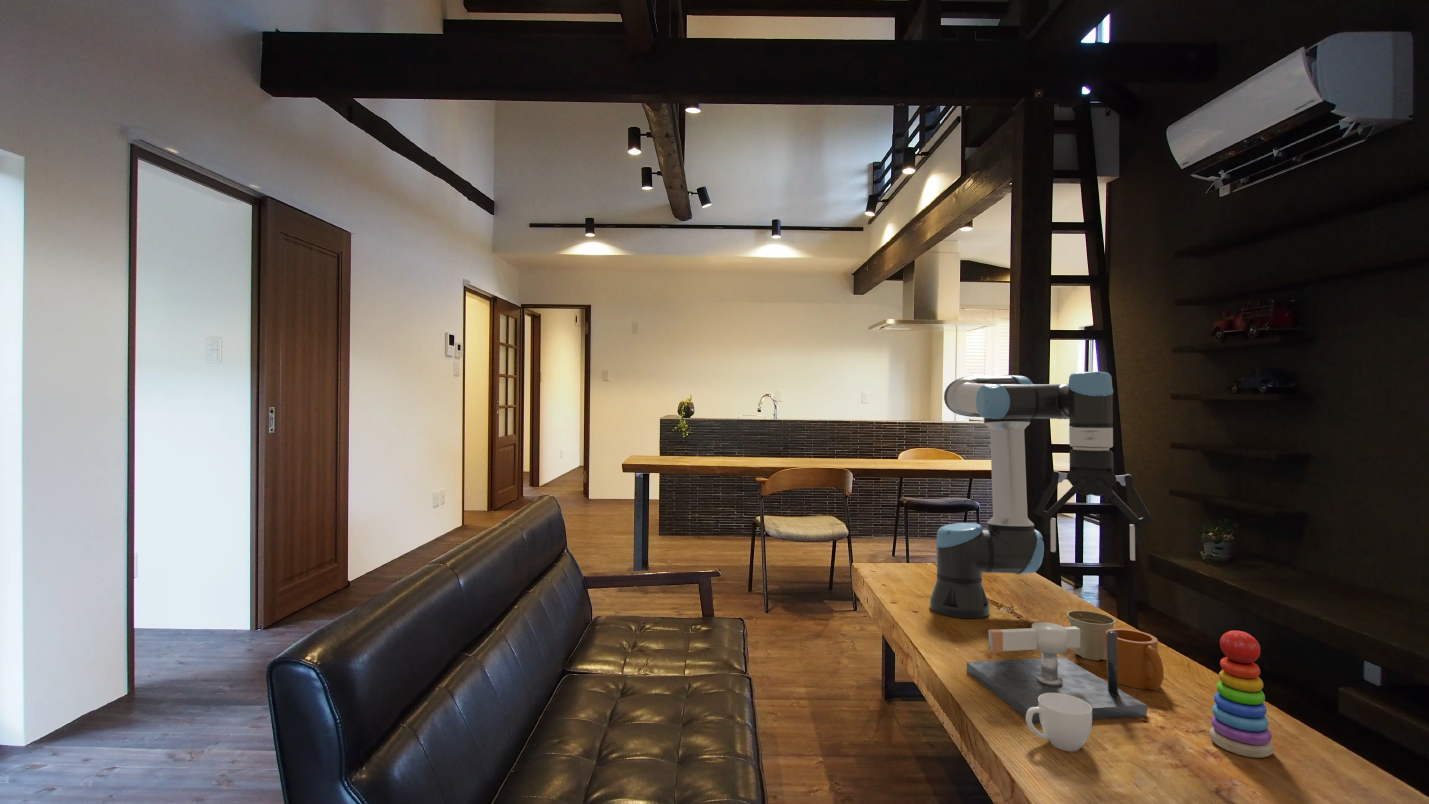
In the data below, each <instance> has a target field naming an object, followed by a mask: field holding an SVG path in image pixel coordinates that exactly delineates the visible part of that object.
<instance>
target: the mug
mask: <svg viewBox="0 0 1429 804" xmlns="http://www.w3.org/2000/svg"><path fill="white" fill-rule="evenodd" d="M1107 631H1114V632H1117V654H1118V685H1121V686H1126V687H1129V688H1134V689H1141V690H1150V691H1157V690H1158V689H1159V688H1161V686H1162V684H1163V682H1164V677H1165V676H1164V675H1165V674H1164V671H1165V670H1164V664H1163V661H1162V658H1161V656H1160V654H1159V652H1158V651H1159V650H1158V648H1159V647H1158V644H1159V643H1158V638H1157V637H1155V636H1154V635H1152V634H1150V633H1147V632H1144V631H1140V630H1136V629H1129V628H1113V629H1109V630H1107ZM1107 631H1106V661H1105V663H1106V677H1107V678H1108V662H1107Z"/></svg>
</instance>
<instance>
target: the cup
mask: <svg viewBox="0 0 1429 804" xmlns="http://www.w3.org/2000/svg"><path fill="white" fill-rule="evenodd" d="M1034 713H1039V719H1040V723H1039V724H1041V728H1042V731H1043V732H1040V731H1039V730H1038V729H1037V728H1036V727H1035V725H1034V723H1032V717H1033V714H1034ZM1025 722H1026V725H1027V727H1028V728H1029V730H1030V731H1031V732H1032V733H1033V734H1034V735H1036V736H1037V737H1038V738H1040V739H1042V740H1046V741H1047V740H1048V741H1049V742H1050V743H1051V745H1052V746H1054V747H1055V748H1056V749H1058V750H1062V751H1064V752H1077V751H1079V750H1080V749H1081V748H1082V747H1084V745H1085V743H1086V742H1087V740H1088V738H1089V737H1090V734H1091V731H1092V726H1093V725H1092V724H1093V720H1092V707H1091V706H1090V705H1089V704H1088V703H1087V702H1085V701H1084V700H1082V699H1080V698H1077V697H1074V696H1071V695H1067V694H1062V693H1044V694H1041V695H1040V696H1039V697H1038V707H1031V708H1029V709H1028V710H1027V713H1026V718H1025Z"/></svg>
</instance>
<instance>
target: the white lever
mask: <svg viewBox="0 0 1429 804" xmlns="http://www.w3.org/2000/svg"><path fill="white" fill-rule="evenodd" d="M1074 648H1080V629H1079V628H1077V627H1075V626H1074V627H1071V626H1062V625H1061V624H1056V623H1052V622H1046V621H1045V622H1042V621H1040V622H1033V623H1031V627H1030V628H1006V629H1005V628H1004V629H1003V628H1002V629H999V628H997V629H988V650H990V651H991V652H993V653H996V652H1002V653H1003V652H1012V651H1013V652H1014V651H1035V650H1037V651H1039V652H1040V653H1041V652H1045V653H1051V654H1057V655H1060V654H1061V655H1063V654H1066V653H1067V652H1068V649H1074Z"/></svg>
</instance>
